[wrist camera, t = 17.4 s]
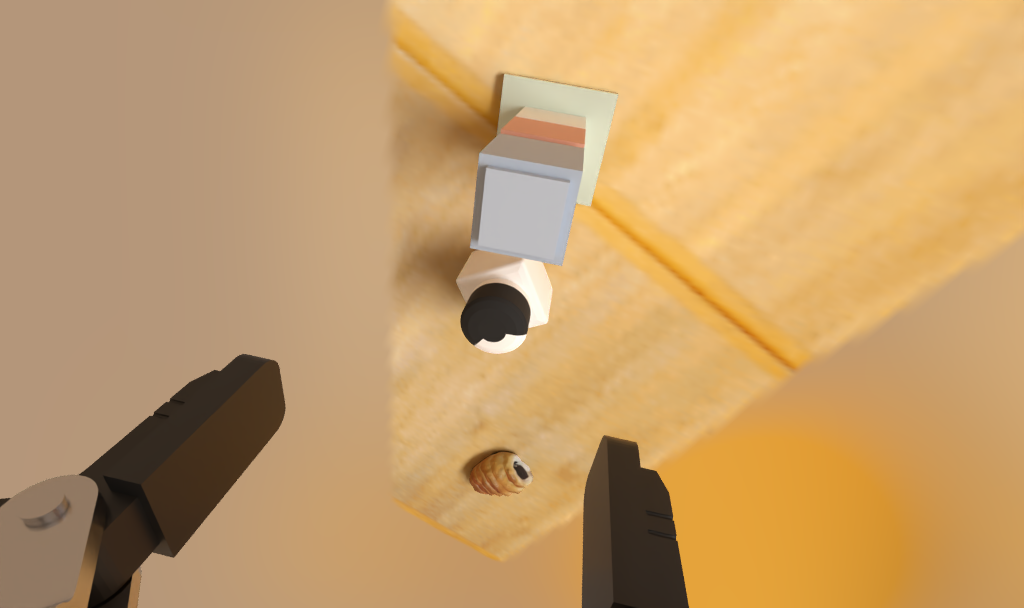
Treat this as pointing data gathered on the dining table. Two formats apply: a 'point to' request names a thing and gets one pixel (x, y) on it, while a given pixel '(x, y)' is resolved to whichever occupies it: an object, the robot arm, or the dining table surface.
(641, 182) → the dining table surface
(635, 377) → the dining table surface
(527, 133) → the brick terracotta
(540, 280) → the medicine bottle
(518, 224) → the grey block
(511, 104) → the tower base
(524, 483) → the pastry
